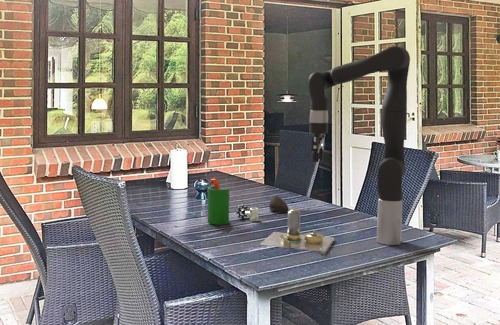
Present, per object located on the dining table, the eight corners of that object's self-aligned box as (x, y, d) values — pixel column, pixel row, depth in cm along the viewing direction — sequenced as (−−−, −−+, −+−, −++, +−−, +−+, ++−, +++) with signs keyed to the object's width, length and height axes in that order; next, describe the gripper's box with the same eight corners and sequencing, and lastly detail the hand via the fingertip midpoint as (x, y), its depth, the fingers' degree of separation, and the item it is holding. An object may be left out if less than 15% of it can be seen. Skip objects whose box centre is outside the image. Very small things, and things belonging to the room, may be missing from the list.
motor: (233, 221, 240) (232, 178, 237) (221, 226, 232) (221, 180, 229) (214, 218, 245) (214, 176, 242) (203, 222, 238) (202, 178, 235)
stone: (282, 215, 267) (268, 201, 268) (293, 205, 263) (279, 191, 264) (275, 223, 258) (261, 208, 259) (286, 212, 254) (272, 197, 255)
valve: (262, 223, 238) (248, 217, 248) (262, 208, 237) (248, 203, 247) (250, 225, 234) (236, 219, 244) (250, 210, 233) (236, 205, 243)
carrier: (334, 240, 210) (334, 229, 210) (324, 254, 192) (324, 242, 192) (273, 234, 218) (273, 224, 218) (259, 247, 201) (259, 236, 200)
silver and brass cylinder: (302, 237, 209) (303, 209, 208) (299, 241, 204) (299, 212, 202) (288, 236, 211) (288, 207, 209) (284, 240, 206) (284, 211, 204)
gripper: (324, 122, 210) (323, 163, 212) (331, 120, 223) (330, 158, 225) (305, 122, 212) (305, 162, 214) (313, 120, 225) (312, 158, 228)
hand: (318, 160), depth 220 cm, fingers open, 8 cm apart
